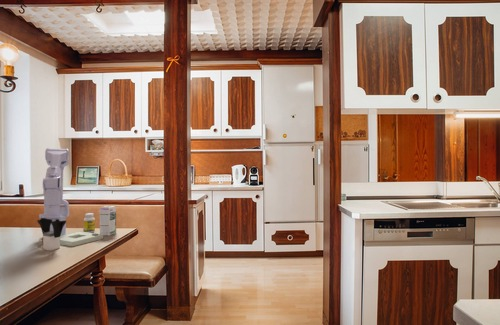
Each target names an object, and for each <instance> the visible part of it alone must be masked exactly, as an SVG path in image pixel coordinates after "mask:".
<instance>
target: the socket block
mask: <svg viewBox="0 0 500 325" xmlns="http://www.w3.org/2000/svg"><path fill="white" fill-rule="evenodd" d="M103 239H104V235H102V234H100V233H95V232H92V233H89V232H83V231H76V232H72V233H66V235H61V236H60V246H62V245H63V246H69V247H75V246H80V245H83V244H84V245H85V244H87V243H91V242H95V241H99V240H103Z"/></svg>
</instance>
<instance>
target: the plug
mask: <svg viewBox="0 0 500 325" xmlns="http://www.w3.org/2000/svg"><path fill="white" fill-rule="evenodd" d="M42 236H43V237H42V238H43V239H42V240H43V241H42V242H43V243H42V244H43V245H42V248H43V250H45V251H53V250H56V249H57V250H58V249H60V247H61V244H60V237H57V238H55V237H54V231H50V232H45V233H42Z"/></svg>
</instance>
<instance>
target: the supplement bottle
mask: <svg viewBox="0 0 500 325" xmlns="http://www.w3.org/2000/svg"><path fill="white" fill-rule="evenodd" d="M94 215H95V214H94V213H93V212H88V213H85V214H84V216H85V217H84V218H83V227H82V228H83V231H82V232H89V233H95V228H96V217H94Z"/></svg>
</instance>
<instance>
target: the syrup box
mask: <svg viewBox="0 0 500 325" xmlns="http://www.w3.org/2000/svg"><path fill="white" fill-rule="evenodd" d="M99 234H102V235H103V236H111V235H114V234H117V205H105V206H100V207H99Z"/></svg>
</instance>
